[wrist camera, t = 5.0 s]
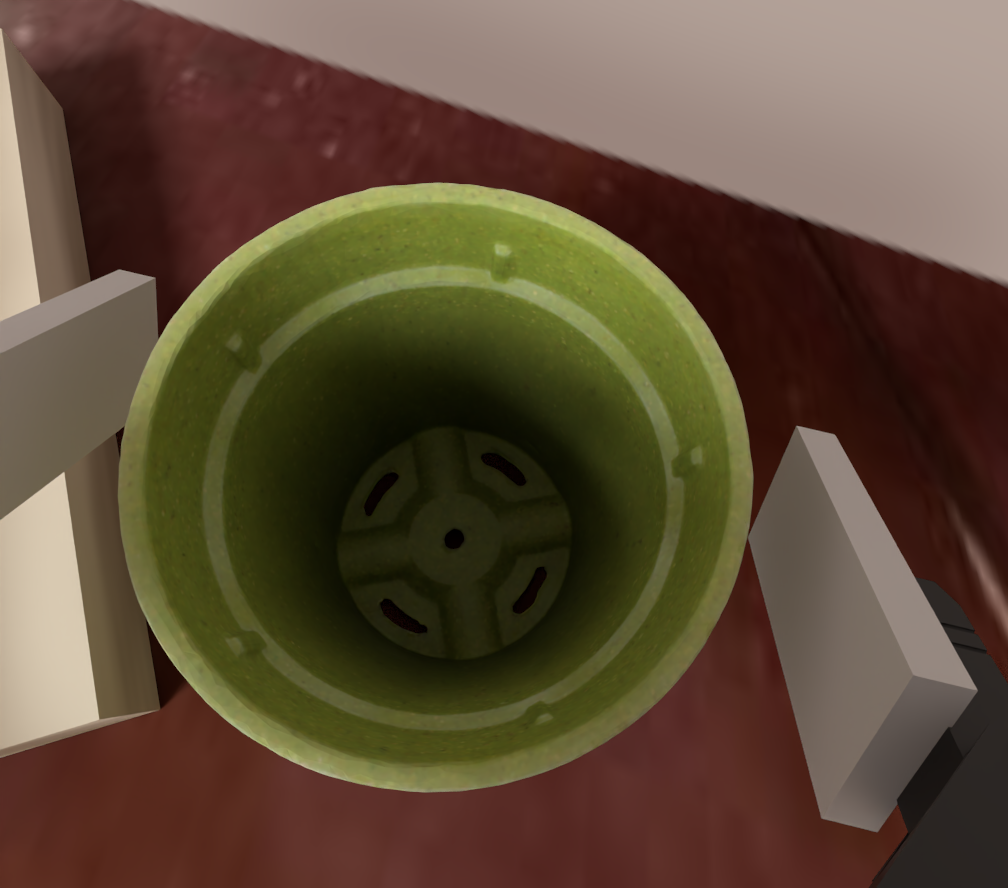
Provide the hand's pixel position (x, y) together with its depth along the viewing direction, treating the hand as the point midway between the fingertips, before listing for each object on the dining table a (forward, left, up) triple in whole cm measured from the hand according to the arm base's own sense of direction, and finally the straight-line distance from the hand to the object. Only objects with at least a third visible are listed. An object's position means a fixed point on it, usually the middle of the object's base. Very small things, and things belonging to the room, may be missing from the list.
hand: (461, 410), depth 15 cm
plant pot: (+1, +2, -5) cm, 5 cm away
